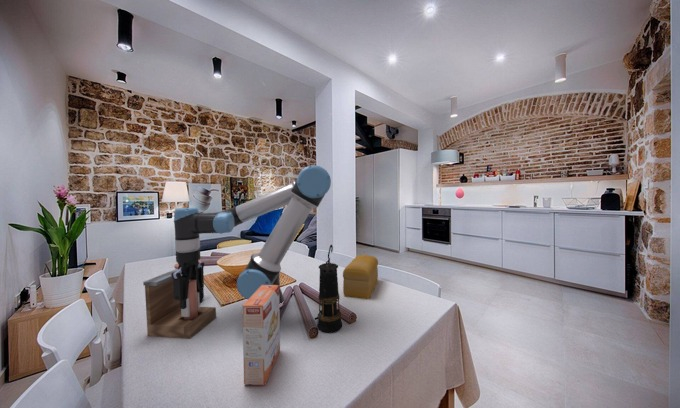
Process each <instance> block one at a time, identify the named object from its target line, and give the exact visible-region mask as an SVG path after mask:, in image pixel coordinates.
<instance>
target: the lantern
mask: <svg viewBox="0 0 680 408" xmlns="http://www.w3.org/2000/svg"><path fill="white" fill-rule="evenodd" d="M333 249H334V247H333V244H330V246H329V248H328V254H327V259H328V260H327V261H326V262H325V263H322V264H320V265H318V269H319V284H318V285H319V289H318V291H319V292H318V293H319V294H318V301H319V305H318V307H319V308H318V313H317V316H316V317H314V320H315V321H317V326H316V327H318V328H317V330H318V331H319V332H321V333H324V334H334V333H337V332H339V331H340V330H342V328H343V322H342V313H341V309H340V307H341V306H340V299H341V298H340V297H341V296H340V292H339V281H338V280H339V278H338V268H339V265H338V264H336V263H334V262H331V257H330V255H331V253H333Z"/></svg>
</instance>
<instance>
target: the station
mask: <svg viewBox="0 0 680 408" xmlns="http://www.w3.org/2000/svg"><path fill="white" fill-rule="evenodd" d="M177 270H178V268H177V269H175V268H174V269H173V270H169V271H167V272H165V273H162V274H159V275H157V276H155V277H153V278H150V279H147V280H145V281H143V282H142V283H143V286H144V293H145V296H144V297H145V311H146V312H145V313H146V331H147V336H148V337H160V338H177V339H191V338H193V337H194V336H195V335H196V334H197V333H199V332H200V331H202V329H204V328H205V327H206V326H207V325H208V324H210V323H211V322H212V321H213V320H214V319H216V318H217V310H216V308H217V307H215V306H200V309H199V310H198V317H196V318H195V319H194V320H184V317H182V316H181V308H180V300H174V287H173V278H172V276H171V274H172V273H175V272H176V271H177Z"/></svg>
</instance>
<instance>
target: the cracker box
mask: <svg viewBox="0 0 680 408" xmlns="http://www.w3.org/2000/svg"><path fill="white" fill-rule="evenodd" d="M241 310H242V312H241V313H242V345H243V346H242V350H243V351H242V353H243V354H242V355H243V385H244V384H252V385H251V386H266V384H267V381H268V379H269V376H270V375H271V372H272V370H273V368H274V365H275V363H276V362H277V359H278V356H279V354H280V351H281V330H280V329H281V324H280V323H281V321H280V317H281V315H280V310H281V309H279V285H261V286H260V287H259V288H258V290H257V291H256V292H255V293H254V294H253V295H252V296H251V297H250V298H249V299H246V301H245V302H244V303H242V309H241Z"/></svg>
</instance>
